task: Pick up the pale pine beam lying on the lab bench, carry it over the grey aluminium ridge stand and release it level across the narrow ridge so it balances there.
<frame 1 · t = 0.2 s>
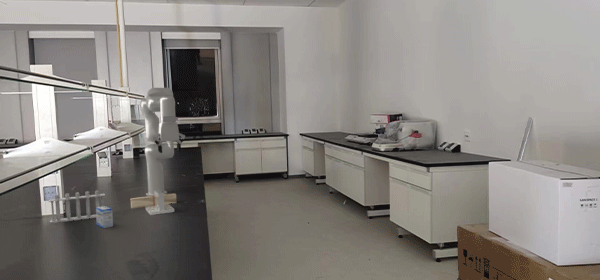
hand: (169, 152, 233), 30 cm above the countertop, tool pointing down, fingers open, 9 cm apart
ridge stand: (159, 210, 231), on the countertop
medicine box: (104, 226, 203), on the countertop
pine beam: (154, 205, 245), on the countertop
grey picket fence: (79, 219, 218), on the countertop
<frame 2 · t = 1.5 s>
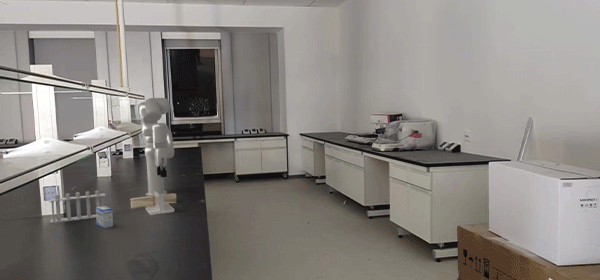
hand: (162, 176, 245), 16 cm above the countertop, tool pointing down, fingers open, 9 cm apart
nothing on the countertop moved.
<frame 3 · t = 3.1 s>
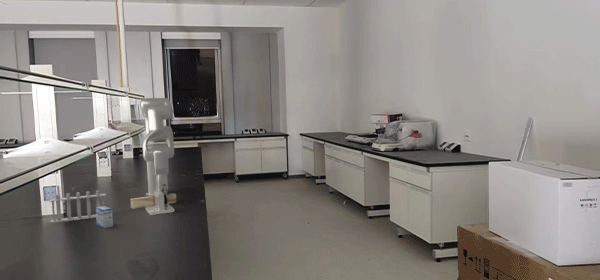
hand: (163, 203, 247), 0 cm above the countertop, tool pointing down, fingers open, 4 cm apart
pine beam: (154, 205, 245), on the countertop, touching gripper
everything else where it was.
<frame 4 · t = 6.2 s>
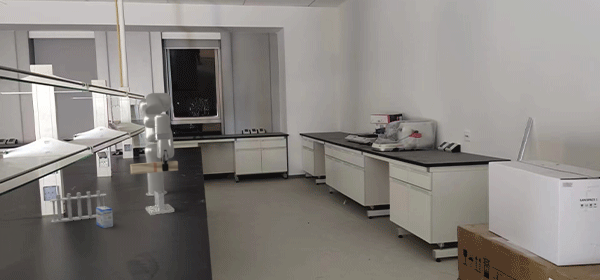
hand: (164, 170, 238), 20 cm above the countertop, tool pointing down, fingers closed on pine beam, 4 cm apart
pine beam: (154, 171, 236), point 20 cm above the countertop, touching gripper
everything else where it was.
when the fingers open (11 cm above the countertop, at t = 8.8 s): pine beam stays where it is, resting on ridge stand.
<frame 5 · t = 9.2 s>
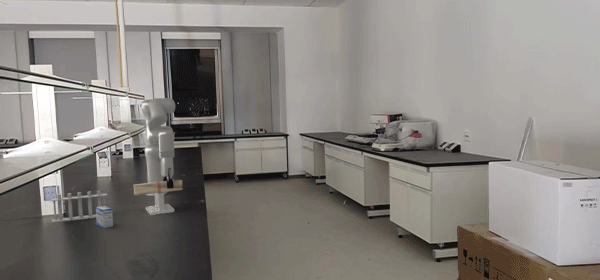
hand: (168, 186, 232), 12 cm above the countertop, tool pointing down, fingers open, 8 cm apart
pine beam: (158, 191, 230), point 10 cm above the countertop, touching ridge stand
everything else where it was.
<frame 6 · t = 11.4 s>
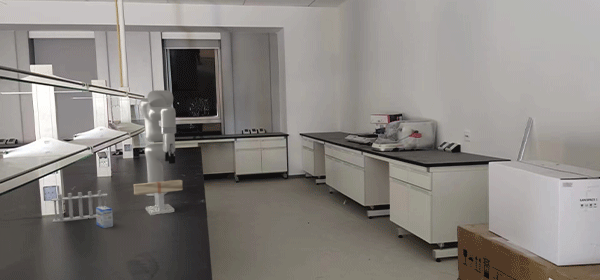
hand: (170, 162, 236), 25 cm above the countertop, tool pointing down, fingers open, 9 cm apart
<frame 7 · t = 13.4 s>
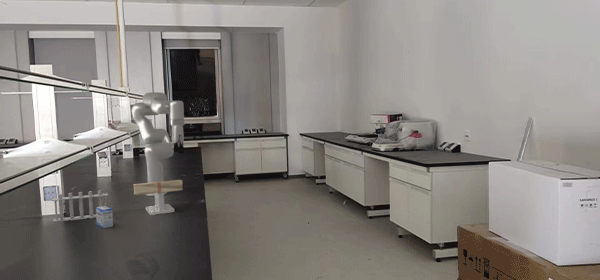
hand: (178, 152, 250), 28 cm above the countertop, tool pointing down, fingers open, 9 cm apart
at the end: pine beam 0.1 cm off-centre on the ridge stand, point 10.0 cm above the ridge stand's base; pine beam tilted 0°; pine beam touching ridge stand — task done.
